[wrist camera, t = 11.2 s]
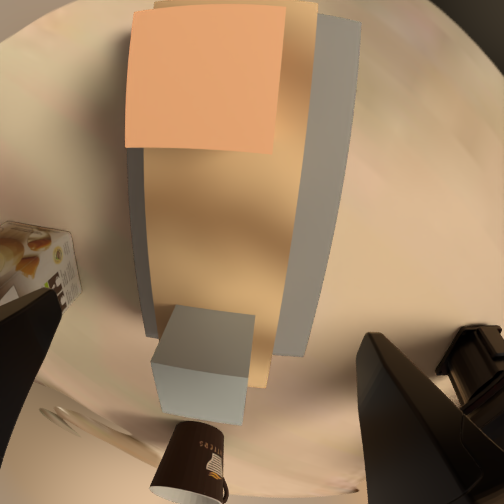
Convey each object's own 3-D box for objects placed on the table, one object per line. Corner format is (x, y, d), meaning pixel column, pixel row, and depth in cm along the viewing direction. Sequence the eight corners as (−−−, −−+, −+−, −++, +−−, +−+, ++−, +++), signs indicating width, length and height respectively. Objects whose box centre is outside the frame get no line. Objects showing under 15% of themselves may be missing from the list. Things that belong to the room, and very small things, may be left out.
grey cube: (248, 367, 16) (241, 425, 13) (180, 357, 17) (162, 412, 13) (255, 315, 15) (248, 377, 11) (176, 304, 15) (150, 361, 11)
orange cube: (273, 139, 11) (272, 154, 7) (171, 132, 11) (125, 147, 7) (283, 40, 9) (286, 6, 5) (178, 37, 9) (134, 12, 6)
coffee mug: (159, 412, 32) (137, 480, 23) (227, 419, 31) (215, 494, 22) (182, 451, 37) (169, 506, 28) (238, 456, 36) (231, 515, 28)
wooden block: (268, 344, 21) (265, 388, 17) (180, 333, 21) (164, 373, 17) (308, 28, 12) (318, 3, 8) (182, 23, 12) (154, 1, 8)
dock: (301, 330, 24) (303, 357, 21) (157, 312, 24) (146, 336, 22) (348, 34, 14) (361, 22, 11) (155, 25, 14) (135, 14, 11)
